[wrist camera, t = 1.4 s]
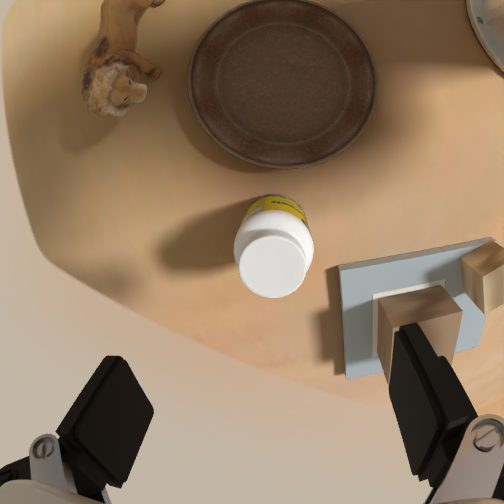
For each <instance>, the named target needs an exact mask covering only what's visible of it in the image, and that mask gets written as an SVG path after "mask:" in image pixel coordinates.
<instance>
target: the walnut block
mask: <svg viewBox="0 0 504 504" xmlns="http://www.w3.org/2000/svg"><path fill="white" fill-rule="evenodd" d="M462 313H463V310H462V309H461V308H460V307H459V306H458V304H457V303H456V302H455V301H454V300H453V298H452V297H451V296H450V295H449V294H448V293H447V291H446V290H445V289H444V288H443V287H442V286H441V285H437V286H433V287H428V288H424V289H419V290H415V291H410V292H405V293H400V294H395V295H390V296H385V297H380V298H378V338H377V354H378V357H379V360H380V363H381V365H382V368H383V371H384V374H385V377H386V380H387V383H388V384H389V382H390V373H391V364H392V354H393V343H394V333H395V331H399V328H400V326H402V325H406V324H410V323H415V322H417V323H418V324H419V326H420V327H421V329H422V331H423V332H424V334H425V336H426V337H427V339H428V341H429V342H430V344H431V346H432V347H433V349H434V351H435V353H436V354H437V356H438V357H439V356H444V357H446V359H447V360H448V362H449V363H450V365H451V364H452V360H453V356H454V352H455V347H456V343H457V339H458V334H459V329H460V324H461V318H462Z"/></svg>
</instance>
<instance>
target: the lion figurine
mask: <svg viewBox="0 0 504 504" xmlns="http://www.w3.org/2000/svg"><path fill="white" fill-rule="evenodd" d="M164 1H165V0H104V1H103V3H102V6H101V25H100V33H99V38H98V45H97V48H96V49H95V50H94V52H93V56H92V57H91V58H90V59H89V61H90V62H89V63H88V64H87V69H86V71H85V72H84V80H83V89H82V93H83V95H84V101H85V102H86V103H87V105H88V110H92V111H93V112H95V113H96V114H98V115H101V116H102V117H105V116H107V115H111V116H120V117H121V116H123V115H125V114H126V113H127V112H128V111H129V109H130V108H131V107H132V105H133V104H134V102H135V103H140V102H142V101H143V100H144V99H145V98H146V94H147V86H146V85H145V84H142V83H140V82H141V80H140V75H141V72H144V73H145V74H147V75H148V78H150V79H156V78H157V77H159V75H160V74H161V70H160V69H159V68H158V67H157V66H155V65H153V64H150V63H148V62H146V60H144V59H143V58H142V57H141V56H140V55H139V54H136V53H135V48H136V42H137V29H136V23H135V19H134V16H135V14H136V13H137V12H138V11H140V10H142V9H144V8H146V7H148V6H149V5H150V4H151V3H152V2H154V4H157V5H159V4H162V3H163V2H164Z"/></svg>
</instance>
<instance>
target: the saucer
mask: <svg viewBox="0 0 504 504" xmlns="http://www.w3.org/2000/svg"><path fill="white" fill-rule="evenodd" d="M188 93H189V99H190V102H191V105H192V108H193V111H194V113H195V115H196V117H197V119H198V121H199V123H200V124H201V126H202V127H203V129H204V130H205V131H206V132H207V134H208V135H209V136H210V137H211V138H212V139H213V140H214V141H215V142H216V143H217V144H218V145H219V146H220V147H222V148H223V149H224V150H226V151H227V152H229V153H230V154H232V155H234V156H236V157H237V158H240V159H242V160H244V161H247V162H249V163H252V164H255V165H259V166H263V167H268V168H275V169H297V168H304V167H309V166H313V165H316V164H319V163H322V162H324V161H327V160H329V159H331V158H333V157H335V156H336V155H338V154H340V153H341V152H343V151H344V150H345V149H347V148H348V147H349V146H350V145H352V144H353V143H354V142H355V141H356V140H357V139H358V137H359V136H360V135H361V134H362V132H363V131H364V130H365V128H366V127H367V125H368V123H369V121H370V119H371V117H372V114H373V112H374V109H375V106H376V101H377V95H378V76H377V70H376V66H375V63H374V60H373V57H372V54H371V52H370V50H369V48H368V46H367V45H366V43H365V41H364V40H363V38H362V37H361V36H360V34H359V33H358V32H357V31H356V30H355V28H354V27H353V26H352V25H351V24H350V23H348V22H347V21H346V20H345V19H344V18H342V17H341V16H340V15H338V14H336V13H335V12H333V11H332V10H330V9H328V8H326V7H324V6H322V5H320V4H317V3H314V2H311V1H308V0H253V1H249V2H246V3H244V4H241V5H239V6H237V7H235V8H233V9H231V10H229V11H228V12H226V13H225V14H223V15H222V16H221V17H219V18H218V19H217V20H216V21H215V22H214V23H213V24H212V25H211V26H210V27H209V28H208V29H207V30H206V31H205V32H204V34H203V35H202V36H201V38H200V40H199V41H198V43H197V45H196V47H195V49H194V51H193V54H192V57H191V60H190V64H189V69H188Z"/></svg>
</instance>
